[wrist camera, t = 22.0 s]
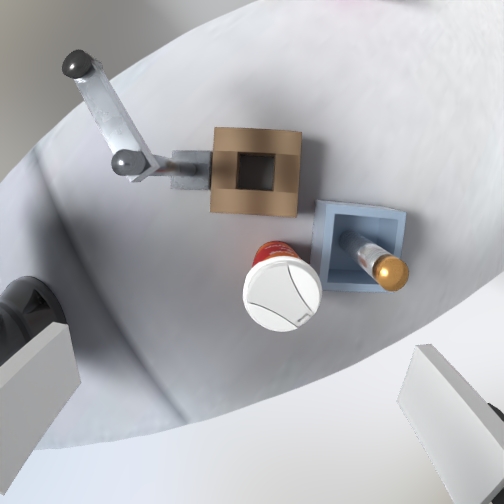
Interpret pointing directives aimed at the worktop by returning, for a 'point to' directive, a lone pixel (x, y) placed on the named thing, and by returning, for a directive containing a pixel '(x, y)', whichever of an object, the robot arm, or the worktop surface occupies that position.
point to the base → (201, 175)
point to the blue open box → (363, 222)
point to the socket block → (255, 144)
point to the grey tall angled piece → (118, 123)
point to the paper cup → (281, 288)
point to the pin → (375, 260)
